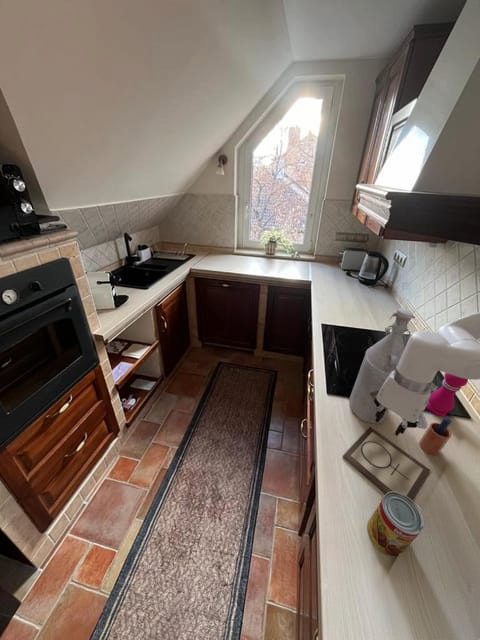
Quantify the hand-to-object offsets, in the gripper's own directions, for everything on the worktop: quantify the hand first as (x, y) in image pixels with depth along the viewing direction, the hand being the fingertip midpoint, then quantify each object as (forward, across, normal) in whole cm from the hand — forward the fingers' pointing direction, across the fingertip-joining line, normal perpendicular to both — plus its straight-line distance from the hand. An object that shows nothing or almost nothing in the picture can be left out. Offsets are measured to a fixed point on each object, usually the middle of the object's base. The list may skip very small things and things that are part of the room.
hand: (388, 425), depth 71 cm
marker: (+12, -10, -14) cm, 21 cm away
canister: (+13, +10, -14) cm, 22 cm away
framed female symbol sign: (+13, -4, +2) cm, 13 cm away
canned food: (+13, -12, +18) cm, 25 cm away
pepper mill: (+13, -6, -34) cm, 36 cm away
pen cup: (+13, -10, -14) cm, 22 cm away
